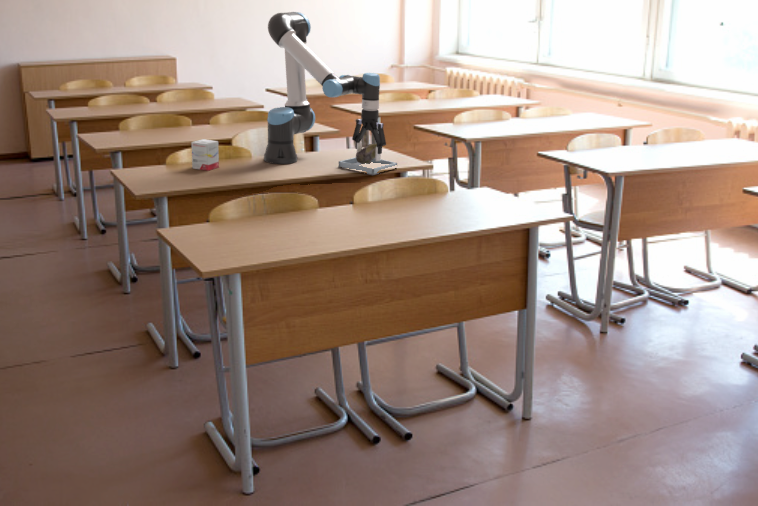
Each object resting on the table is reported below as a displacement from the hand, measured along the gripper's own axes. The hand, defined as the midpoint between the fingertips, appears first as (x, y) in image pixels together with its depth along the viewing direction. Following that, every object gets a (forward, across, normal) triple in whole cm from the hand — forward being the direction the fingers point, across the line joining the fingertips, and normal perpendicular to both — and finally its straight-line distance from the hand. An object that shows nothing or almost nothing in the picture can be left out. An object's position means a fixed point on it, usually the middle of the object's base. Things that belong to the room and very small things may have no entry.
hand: (368, 158), depth 375 cm
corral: (+4, 0, 0) cm, 4 cm away
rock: (+3, 0, 0) cm, 3 cm away
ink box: (+4, -48, -53) cm, 72 cm away
